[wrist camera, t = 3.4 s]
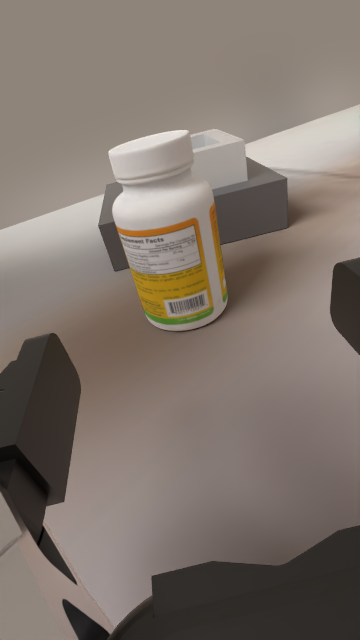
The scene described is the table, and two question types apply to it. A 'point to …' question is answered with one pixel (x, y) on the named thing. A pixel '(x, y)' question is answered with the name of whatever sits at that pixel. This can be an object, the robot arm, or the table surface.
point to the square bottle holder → (219, 193)
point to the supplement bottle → (169, 231)
